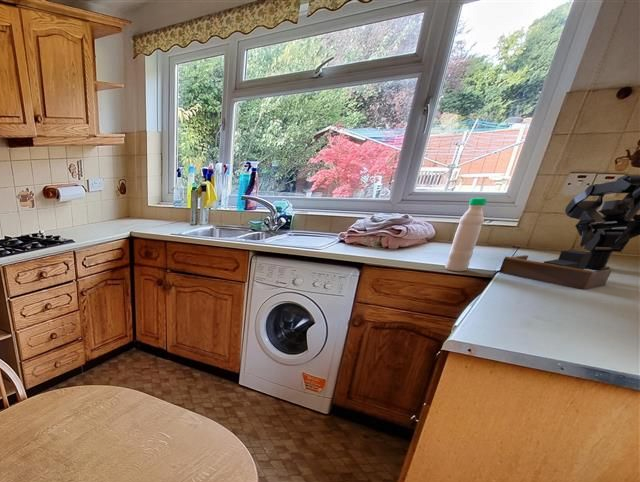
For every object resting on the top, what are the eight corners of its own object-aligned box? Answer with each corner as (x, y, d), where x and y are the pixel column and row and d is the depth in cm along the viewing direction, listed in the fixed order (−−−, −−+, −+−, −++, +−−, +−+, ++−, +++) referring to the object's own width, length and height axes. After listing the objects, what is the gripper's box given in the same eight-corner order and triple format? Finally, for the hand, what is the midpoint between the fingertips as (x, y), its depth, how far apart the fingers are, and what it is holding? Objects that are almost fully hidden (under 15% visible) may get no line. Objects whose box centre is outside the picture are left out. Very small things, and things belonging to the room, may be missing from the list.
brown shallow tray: (519, 268, 162) (525, 253, 159) (604, 284, 141) (613, 267, 138) (498, 272, 158) (504, 256, 155) (583, 289, 137) (591, 271, 135)
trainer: (560, 272, 156) (570, 249, 152) (581, 276, 150) (592, 252, 147) (536, 276, 152) (546, 253, 148) (558, 280, 146) (569, 256, 143)
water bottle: (460, 272, 159) (484, 199, 147) (440, 269, 164) (462, 198, 153) (470, 270, 162) (495, 198, 150) (451, 266, 167) (473, 196, 155)
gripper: (584, 196, 152) (556, 230, 152) (660, 185, 134) (627, 224, 134) (595, 218, 156) (567, 252, 156) (669, 211, 138) (638, 249, 138)
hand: (598, 244), depth 146 cm, fingers open, 9 cm apart
